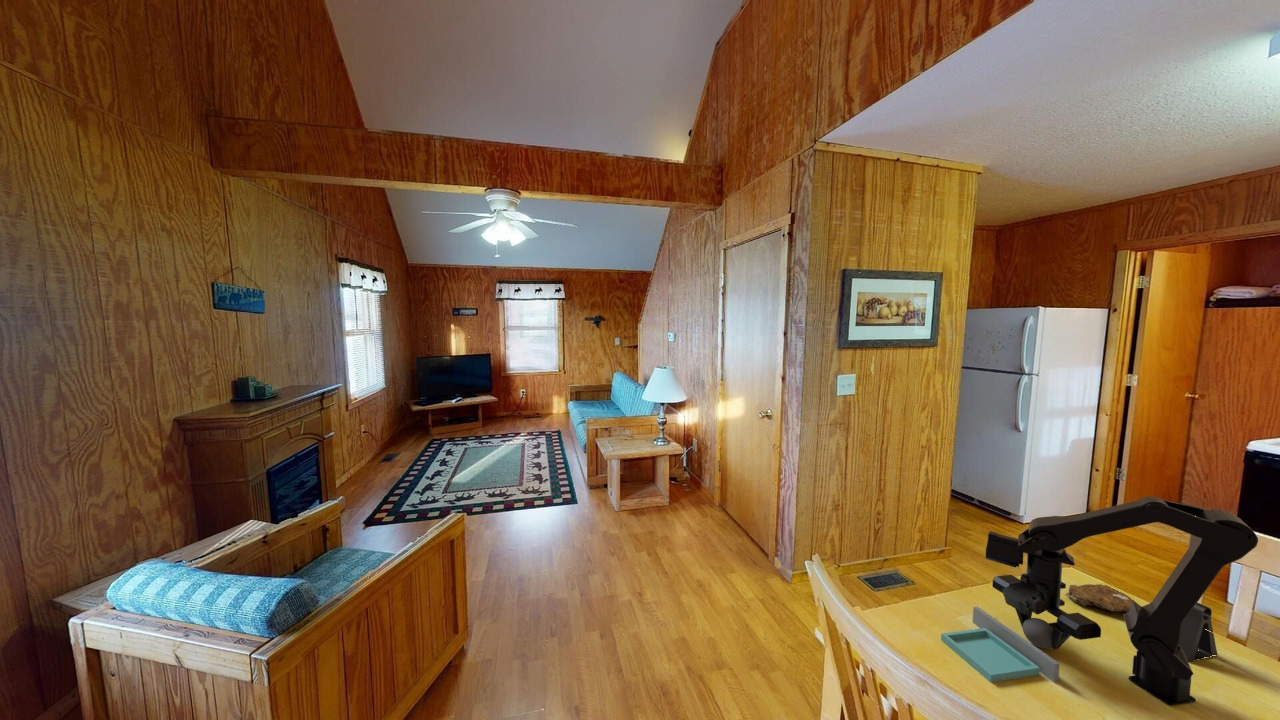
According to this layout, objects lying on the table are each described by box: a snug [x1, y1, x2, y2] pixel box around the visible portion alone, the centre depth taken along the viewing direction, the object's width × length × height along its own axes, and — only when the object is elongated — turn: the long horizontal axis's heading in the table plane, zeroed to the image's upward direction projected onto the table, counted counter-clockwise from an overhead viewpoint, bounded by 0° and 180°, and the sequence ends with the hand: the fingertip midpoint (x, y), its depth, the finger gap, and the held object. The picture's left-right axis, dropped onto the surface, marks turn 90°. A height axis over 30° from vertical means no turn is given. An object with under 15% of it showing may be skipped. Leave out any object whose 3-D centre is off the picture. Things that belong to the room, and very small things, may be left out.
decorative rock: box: [1065, 583, 1140, 613], centre depth 110 cm, size 11×4×15 cm
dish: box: [940, 627, 1040, 683], centre depth 93 cm, size 12×12×2 cm
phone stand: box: [1179, 602, 1218, 663], centre depth 94 cm, size 9×6×12 cm, turn 100°
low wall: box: [972, 606, 1061, 683], centre depth 95 cm, size 18×1×4 cm, turn 8°
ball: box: [1022, 617, 1053, 650], centre depth 96 cm, size 6×6×6 cm
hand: (1039, 638), depth 96 cm, fingers closed on ball, 6 cm apart
